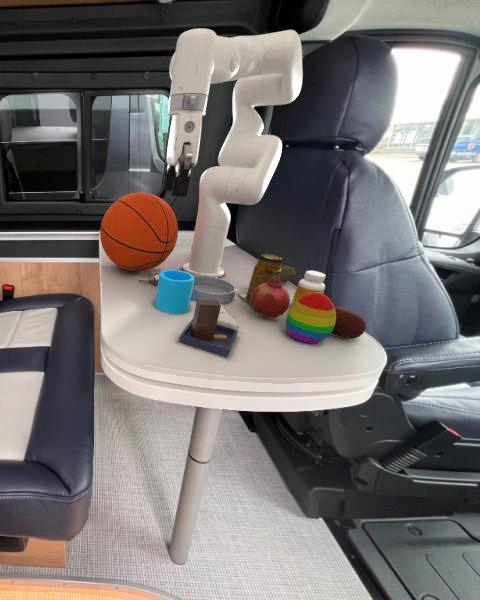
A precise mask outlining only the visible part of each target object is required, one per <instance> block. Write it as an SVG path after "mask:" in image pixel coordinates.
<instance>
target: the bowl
mask: <svg viewBox="0 0 480 600" xmlns="http://www.w3.org/2000/svg"><path fill="white" fill-rule="evenodd" d="M194 278H195V279H194V284H193V289H192V294H191V300H192V301H193V300H194V301H195V302H197V299H199V300H217V301H218V302H219V303H220V304H221V305H227V304H230V303H231V302H232V301H233V300H234V299H235V296H236V292H237V287H236V285H234V284H233V283H232V282H230V281H228V280H226V279H222V278H221V277H218V278H215V277H210V276H194Z"/></svg>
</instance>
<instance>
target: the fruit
mask: <svg viewBox="0 0 480 600" xmlns="http://www.w3.org/2000/svg"><path fill="white" fill-rule="evenodd" d="M282 285H283V282H282V283H281V280H280V279H279V278H278V277H273V278H272V279H271V280H270V281H269V283H263V284H260V285H258V286H257V287H256V288H255V289H254V290H253V292H252V294H251V297H250V303H249V304H250V307H251V308H252V310H253V311H254V312H255V313H256V314H258V315H259V316H261V317H265V318H270V319H275V318H277V317H280V316H283V315H284V314H285V313H286V312H287V311H288V309H289V307H290V305H291V304H290V303H291V297H290V293H289V291H288V290H287V288H285V287H284V286H282Z"/></svg>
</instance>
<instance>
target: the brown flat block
mask: <svg viewBox="0 0 480 600" xmlns="http://www.w3.org/2000/svg"><path fill="white" fill-rule="evenodd" d="M221 305H222V304H221ZM221 305H220V303H219V302H218V301H217V300H199V299H197V301H195V308H194V313H193V317H192V319H193V322H192V327H191V332H190V334H191V337H192V338H195V339H199V340H207V341H213V339H216V340H227V337H226V335H214V333H215V329H216V325H217V321H218V317H219V313H220V308H221Z"/></svg>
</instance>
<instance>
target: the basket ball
mask: <svg viewBox="0 0 480 600" xmlns="http://www.w3.org/2000/svg"><path fill="white" fill-rule="evenodd" d="M178 237H179V225H178V219H177V217H176V214H175V212H174V211H173V209H172V208H171V205H169V203H168V202H166V201H165V200H164V199H163V198H161V197H159V196H157V195H155V194H153V193H147V192H140V191H139V192H132V193H129V194H126V195H123V196H122V197H119V198H118V199H116V200H115V201H114V202H113V203H112V204H111V205H110V206H109V208H107V210H106V211H105V213H104V215H103V218H102V220H101V224H100V229H99V238H100V239H99V240H100V243H101V247H102V250H103V251H104V253H105V255H106V256H107V258H108V259H109V260H110V261H111V262H112V263H113V264H114V265H116V266H117V267H120V268H122V269H124V270H127V271H130V272H131V271H132V272H143V271H148V270H152V269H154V268H156V267H158V266H160V265H161V264H162V263H164V262H165V261H166V260H167V259H168V258H169V257H170V255H171V254H172V252H173V251H174V249H175V247H176V244H177V241H178Z"/></svg>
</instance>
